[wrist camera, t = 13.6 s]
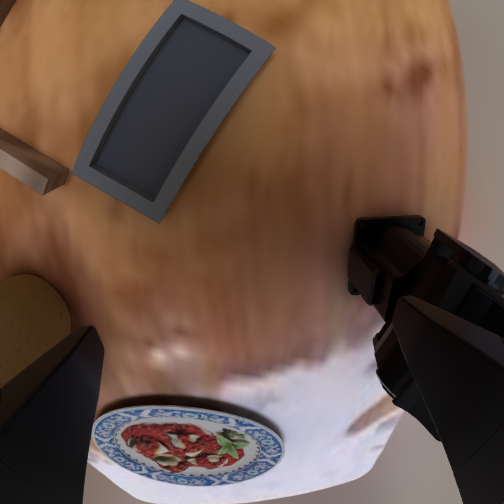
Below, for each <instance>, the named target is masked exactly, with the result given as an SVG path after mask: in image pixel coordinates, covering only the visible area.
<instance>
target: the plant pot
mask: <svg viewBox="0 0 504 504" xmlns="http://www.w3.org/2000/svg"><path fill="white" fill-rule="evenodd" d="M70 333H71V317H70V313H69V310H68V307H67V305H66V303H65V302H64V300H63V299H62V297H61V296H60V294H59V293H58V292H57V291H56V290H55V289H54V288H53V287H52V286H51V285H50V284H49V283H47V282H46V281H44V280H43V279H41V278H39V277H37V276H34V275H30V274H21V275H17V276H14V277H10V278H7V279H4V280H1V281H0V388H2V386H3V385H5V384H6V383H7V382H8V381H10V380H11V379H12V378H13V377H15V376H16V375H17V374H18V373H20V372H21V371H22V370H23V369H25V368H26V367H27V366H28V365H30V364H31V363H32V362H34V361H35V360H36V359H37V358H39V357H40V356H41V355H43V354H44V353H45V352H47V351H48V350H49V349H50V348H52V347H53V346H54V345H56V344H57V343H58V342H60V341H61V340H62V339H64V338H65V337H66V336H68V335H69V334H70Z"/></svg>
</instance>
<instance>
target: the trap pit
mask: <svg viewBox="0 0 504 504" xmlns="http://www.w3.org/2000/svg"><path fill="white" fill-rule="evenodd" d="M275 48H276V47H274V46H273V45H271V44H270V43H268V42H266V41H265V40H263V39H261V38H260V37H258V36H256V35H255V34H253V33H251V32H249V31H248V30H246V29H244V28H242V27H241V26H239V25H237V24H235V23H233V22H231V21H229V20H228V19H226V18H224V17H222V16H220V15H218V14H216V13H214V12H212V11H210V10H208V9H205V8H203V7H201V6H199V5H197V4H195V3H192V2H190V1H188V0H174V1H173V2H172V4H171V5H170V6H169V7H168V8H167V10H166V11H165V12H164V13H163V15H162V16H161V17H160V18H159V20H158V21H157V22H156V23H155V25H154V26H153V27H152V29H151V30H150V31H149V33H148V34H147V36H146V37H145V38H144V40H143V41H142V43H141V44H140V45H139V47H138V48H137V50H136V51H135V53H134V54H133V56H132V57H131V59H130V60H129V62H128V63H127V65H126V67H125V68H124V70H123V71H122V73H121V75H120V76H119V78H118V80H117V81H116V83H115V85H114V86H113V88H112V90H111V91H110V93H109V95H108V97H107V99H106V100H105V102H104V104H103V106H102V108H101V110H100V112H99V114H98V115H97V117H96V119H95V121H94V123H93V125H92V127H91V130H90V132H89V134H88V136H87V138H86V140H85V142H84V144H83V147H82V149H81V151H80V153H79V156H78V158H77V160H76V163H75V165H74V168H73V170H72V174H74V175H76V176H77V177H79V178H81V179H83V180H84V181H86V182H88V183H89V184H91V185H93V186H95V187H96V188H98V189H100V190H101V191H103V192H105V193H107V194H108V195H110V196H112V197H114V198H115V199H117V200H119V201H121V202H122V203H124V204H126V205H128V206H129V207H131V208H133V209H135V210H136V211H138V212H140V213H142V214H143V215H145V216H147V217H149V218H151V219H152V220H154V221H156V222H158V223H159V224H160V222H161V220H162V219H163V217H164V215H165V213H166V212H167V210H168V208H169V206H170V204H171V203H172V201H173V199H174V197H175V196H176V194H177V192H178V191H179V189H180V187H181V185H182V184H183V182H184V180H185V179H186V177H187V175H188V174H189V172H190V170H191V169H192V167H193V166H194V164H195V162H196V161H197V159H198V158H199V156H200V154H201V153H202V151H203V150H204V148H205V146H206V145H207V143H208V142H209V140H210V139H211V137H212V136H213V134H214V133H215V131H216V130H217V128H218V127H219V125H220V124H221V122H222V121H223V119H224V118H225V116H226V115H227V113H228V112H229V110H230V109H231V108H232V106H233V105H234V103H235V102H236V100H237V99H238V98H239V96H240V95H241V93H242V92H243V91H244V89H245V88H246V86H247V85H248V84H249V82H250V81H251V80H252V78H253V77H254V76H255V74H256V73H257V72H258V70H259V69H260V68H261V66H262V65H263V64H264V63H265V61H266V60H267V59H268V57H269V56H270V55H271V54H272V52H273V51H274V50H275Z"/></svg>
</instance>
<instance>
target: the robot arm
mask: <svg viewBox="0 0 504 504" xmlns="http://www.w3.org/2000/svg"><path fill="white" fill-rule="evenodd" d="M420 220H421V222H420V223H419V221H420ZM362 223H364V226H363V227H361V228H360V225H361V224H362ZM425 223H426V220H425V218H424V217H422V216H393V217H371V218H359V219H358V220H357V221H356V223H355V230H354V241H353V246H352V247H351V249H350V258H349V267H348V278H349V284H348V291H349V292H350V294H351V295H359V294H361V296H362V297H363V299H364V300H365V302H366V303H367V304H368V305H369V306H372V305H374V307H375V308H376V310H377V311H378V312H379V314H380V315H381V317H382V318H383V320H384V321H385V322H386V323H385V324H384V326H383V327H382V329H381V330H380V332H379V333H377V334H376V335H375V337H374V338H373V345H374V350H375V354H374V355H375V358H376V362H377V370H376V374H377V377H378V378H379V380H380V382H381V384H382V387H383V388H384V389H385V391H386V392H387V393H388V394H389V395H390V396H391V397H392V398H393V400H392V402H393V404H394V405H396V406H398V407H400V408H402V409H403V410H405V411H407V412H408V413H410V414H411V415H412V416H414V417H415V418H416V419H417V420H419V422H420V423H421V424H422V425H423V426H424V427H425V428H426V429H427V430H428V431H429V432H430V433H431V434H432V435H433V437H434V438H435V439H436V440H438V441H441V442H442V444H443V447H444V449H445V451H446V454H447V457H448V460H449V462H450V465H451V468H452V471H453V474H454V477H455V480H456V483H457V486H458V488H459V492H460V495H461V498H462V501H463V504H504V273H503V272H502V271H501V270H500V269H499V268H498V267H497V266H496V265H495V264H494V263H492V262H491V261H489V260H488V259H487V258H485V257H483V256H482V255H481V254H480V253H478V252H477V251H475V250H474V249H472V248H471V247H469V246H467V245H465V244H464V243H462V242H460V241H459V240H457V239H455V238H454V237H452V236H450V235H448V234H447V233H445V232H443V231H441V230H440V229H438V228H437V229H436V231H435V233H434V239H433V241H432V243H431V242H430V241H428V240H427V239H425V238H424V237H423V235H424V229H425ZM355 287H356V289H355V290H353V289H354V288H355ZM103 359H104V347H103V344H102V342H101V340H100V337H99V335H98V333H97V330H96V328H95V327H94V326H92V325H82V326H80V327H78V328H77V329H76V330H74V331H73V332H72V333H70V334H69V335H68V336H66V337H65V338H64V339H62V340H61V341H60V342H58V343H57V344H56V345H54V346H53V347H52V348H50V349H49V350H48V351H47V352H45V353H44V354H43V355H41V356H40V357H39V358H37V359H36V360H35V361H34V362H32V363H31V364H30V365H28V366H27V367H26V368H25V369H23V370H22V371H21V372H20V373H18V374H17V375H16V376H15V377H13V378H12V379H11V380H10V381H8V382H7V383H6V384H5V385H3V386H2V388H0V504H82V503H83V491H84V482H85V474H86V465H87V459H88V452H89V446H90V440H91V434H92V428H93V423H94V418H95V413H96V408H97V403H98V398H99V391H100V382H101V374H102V366H103Z"/></svg>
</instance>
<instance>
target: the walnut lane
mask: <svg viewBox="0 0 504 504" xmlns="http://www.w3.org/2000/svg"><path fill="white" fill-rule="evenodd" d="M15 1H16V0H0V26H1V24H2V22H3V21H4V19H5V17H6V16H7V14H8V12H9V10H10V9H11V7H12V6H13V4H14V2H15ZM0 168H1V169H3V170H4V171H6V172H7V173H9V174H10V175H12V176H13V177H15V178H16V179H18V180H19V181H21V182H22V183H24V184H25V185H27V186H29V187H30V188H32V189H33V190H35V191H36V192H38V193H39V194H41V195H45V194H46V193H48V192H50V191H52V190H54V189H56V188H58V187H60V186H61V185H63V184H64V182H65V179H66V177H67V174H68V171H69V169H67V168H65V167H64V166H62V165H60V164H58V163H57V162H55V161H53V160H52V159H50V158H48V157H47V156H45V155H43V154H42V153H40V152H38V151H37V150H35V149H33V148H32V147H30V146H28V145H27V144H25V143H23V142H22V141H20V140H18V139H17V138H15V137H13V136H12V135H10V134H8V133H7V132H5V131H4V130H2V129H0Z"/></svg>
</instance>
